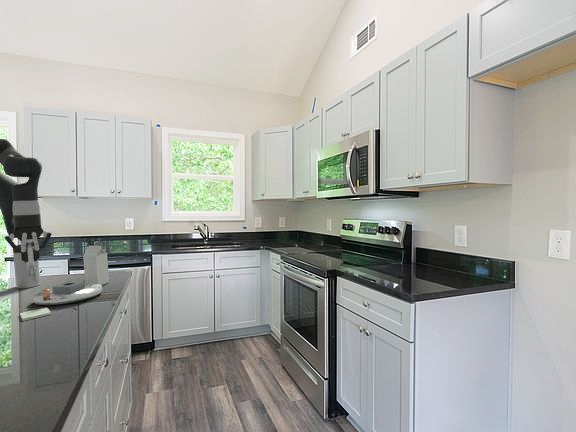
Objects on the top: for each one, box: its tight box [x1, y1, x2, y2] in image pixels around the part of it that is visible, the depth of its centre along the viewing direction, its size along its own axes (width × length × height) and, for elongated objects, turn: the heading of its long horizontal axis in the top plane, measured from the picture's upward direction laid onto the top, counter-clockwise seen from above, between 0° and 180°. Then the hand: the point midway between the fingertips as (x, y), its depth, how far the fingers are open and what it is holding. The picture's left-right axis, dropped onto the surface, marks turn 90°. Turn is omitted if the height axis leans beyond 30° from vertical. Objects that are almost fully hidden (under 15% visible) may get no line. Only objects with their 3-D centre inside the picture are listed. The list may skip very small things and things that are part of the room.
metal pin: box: [26, 239, 36, 276], centre depth 115 cm, size 4×4×13 cm
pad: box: [19, 307, 52, 322], centre depth 116 cm, size 8×8×1 cm
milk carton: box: [82, 245, 110, 286], centre depth 155 cm, size 7×7×19 cm
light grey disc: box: [32, 281, 103, 306], centre depth 135 cm, size 24×24×6 cm
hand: (30, 261), depth 115 cm, fingers closed on metal pin, 2 cm apart
